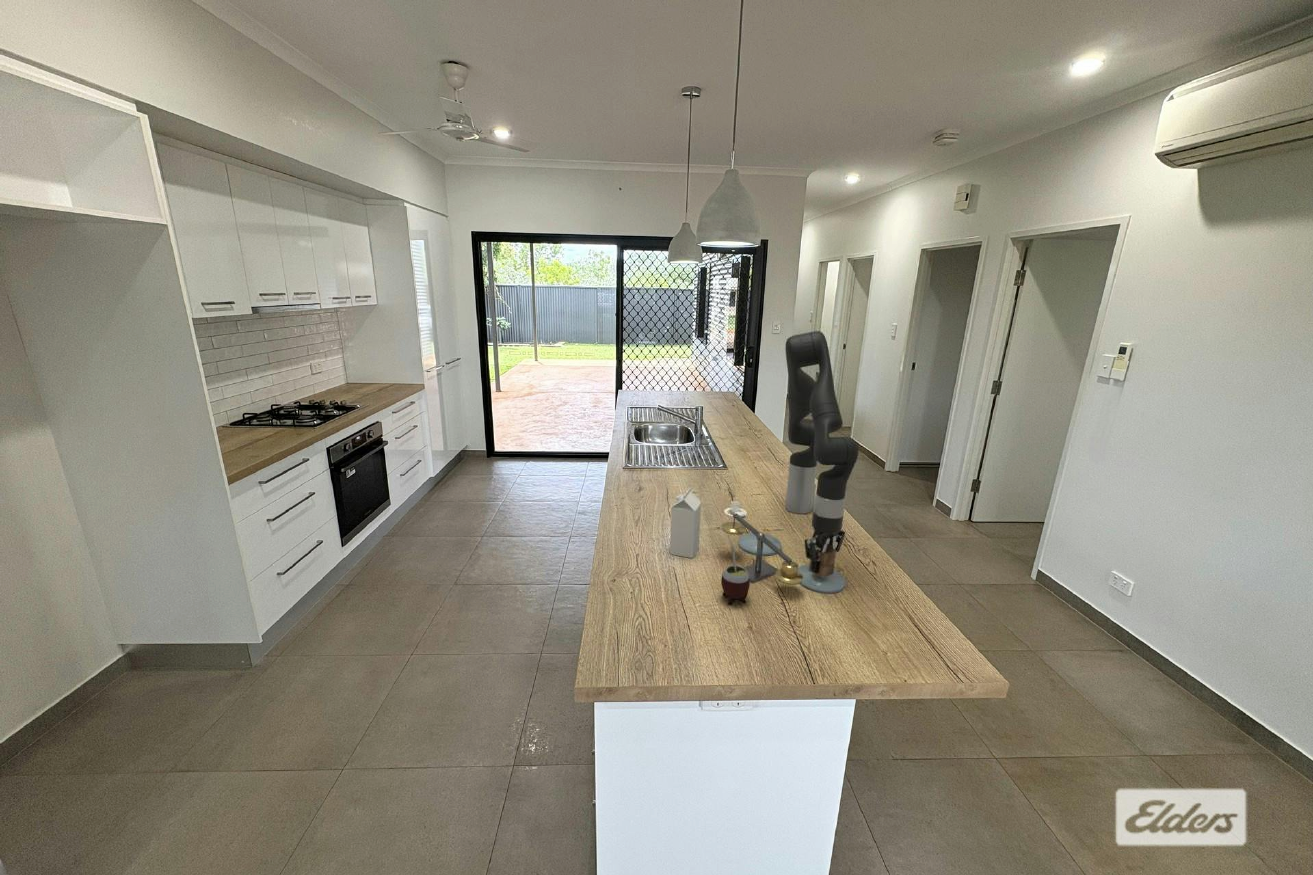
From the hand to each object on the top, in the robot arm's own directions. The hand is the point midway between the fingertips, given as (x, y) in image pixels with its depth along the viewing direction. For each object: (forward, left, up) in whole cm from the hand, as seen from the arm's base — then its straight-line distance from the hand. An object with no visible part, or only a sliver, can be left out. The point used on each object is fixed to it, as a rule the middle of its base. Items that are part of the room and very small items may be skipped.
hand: (821, 569), depth 138 cm
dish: (0, 0, -3) cm, 3 cm away
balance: (+12, -11, -3) cm, 17 cm away
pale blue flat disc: (0, -23, -3) cm, 23 cm away
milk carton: (+22, -32, -3) cm, 39 cm away
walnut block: (0, 0, -1) cm, 1 cm away
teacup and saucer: (-7, -45, -4) cm, 46 cm away
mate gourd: (+26, -6, -3) cm, 27 cm away
